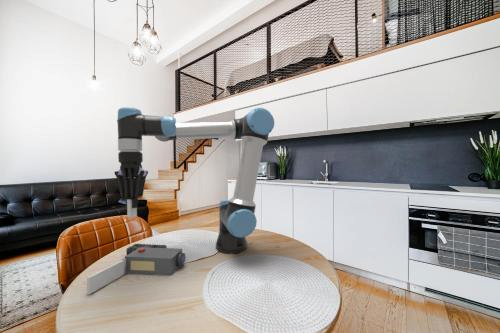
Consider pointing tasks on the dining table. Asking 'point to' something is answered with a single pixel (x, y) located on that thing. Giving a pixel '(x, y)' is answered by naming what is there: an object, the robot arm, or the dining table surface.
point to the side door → (106, 276)
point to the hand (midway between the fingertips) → (132, 216)
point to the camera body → (154, 261)
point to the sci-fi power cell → (136, 246)
